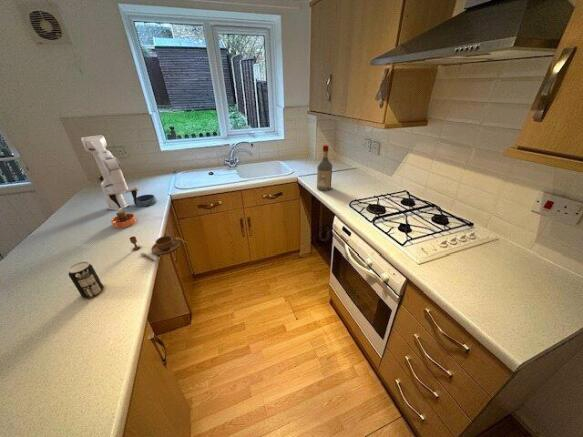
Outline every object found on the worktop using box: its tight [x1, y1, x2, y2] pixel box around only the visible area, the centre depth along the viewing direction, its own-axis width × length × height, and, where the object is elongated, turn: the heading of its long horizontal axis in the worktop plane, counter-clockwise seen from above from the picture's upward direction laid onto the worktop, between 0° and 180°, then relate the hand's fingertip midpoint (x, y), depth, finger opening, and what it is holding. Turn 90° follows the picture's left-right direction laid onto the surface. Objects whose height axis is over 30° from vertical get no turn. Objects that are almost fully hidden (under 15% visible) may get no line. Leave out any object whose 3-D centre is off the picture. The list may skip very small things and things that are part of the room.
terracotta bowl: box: [110, 212, 138, 230], centre depth 131 cm, size 11×11×4 cm
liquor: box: [316, 144, 333, 192], centre depth 163 cm, size 9×9×30 cm
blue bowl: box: [133, 193, 157, 208], centre depth 155 cm, size 12×12×4 cm
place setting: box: [129, 235, 188, 262], centre depth 111 cm, size 18×20×6 cm
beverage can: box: [67, 261, 104, 299], centre depth 85 cm, size 7×7×12 cm
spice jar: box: [115, 209, 128, 222], centre depth 130 cm, size 4×4×8 cm
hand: (128, 205), depth 131 cm, fingers open, 7 cm apart
